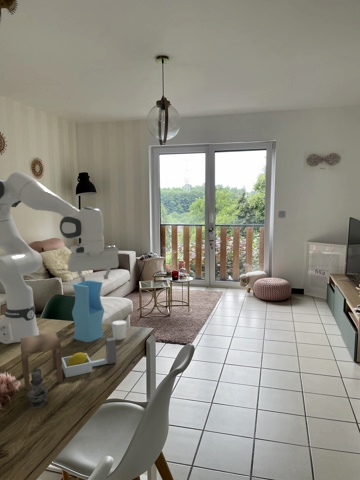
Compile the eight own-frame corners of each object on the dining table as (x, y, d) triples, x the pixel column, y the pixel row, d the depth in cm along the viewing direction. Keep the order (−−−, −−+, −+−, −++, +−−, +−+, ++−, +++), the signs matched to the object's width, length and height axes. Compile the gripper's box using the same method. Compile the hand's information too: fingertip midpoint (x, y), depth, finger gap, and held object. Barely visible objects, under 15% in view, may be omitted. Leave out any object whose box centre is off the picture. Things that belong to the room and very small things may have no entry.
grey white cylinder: (124, 340, 161) (123, 325, 160) (109, 339, 162) (109, 324, 161) (129, 334, 168) (129, 320, 167) (115, 333, 169) (114, 319, 168)
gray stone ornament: (31, 398, 115) (29, 362, 114) (50, 397, 116) (48, 361, 114) (25, 409, 109) (22, 371, 108) (45, 408, 110) (43, 370, 108)
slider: (65, 377, 128) (64, 353, 127) (61, 366, 136) (60, 343, 135) (118, 365, 136) (117, 342, 135) (111, 356, 144) (111, 334, 143)
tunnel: (25, 390, 120) (22, 352, 119) (22, 373, 132) (20, 338, 130) (62, 381, 125) (60, 345, 124) (57, 366, 137) (55, 332, 136)
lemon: (64, 367, 129) (84, 353, 131) (62, 359, 133) (81, 345, 136) (73, 377, 131) (92, 363, 133) (70, 369, 136) (88, 356, 138)
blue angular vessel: (89, 342, 159) (86, 286, 156) (73, 338, 164) (70, 284, 161) (104, 335, 167) (102, 282, 164) (89, 331, 172) (87, 279, 169)
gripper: (115, 244, 155) (116, 276, 157) (66, 247, 146) (67, 281, 148) (120, 246, 150) (121, 279, 151) (69, 249, 141) (70, 284, 142)
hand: (94, 280), depth 150 cm, fingers open, 8 cm apart
